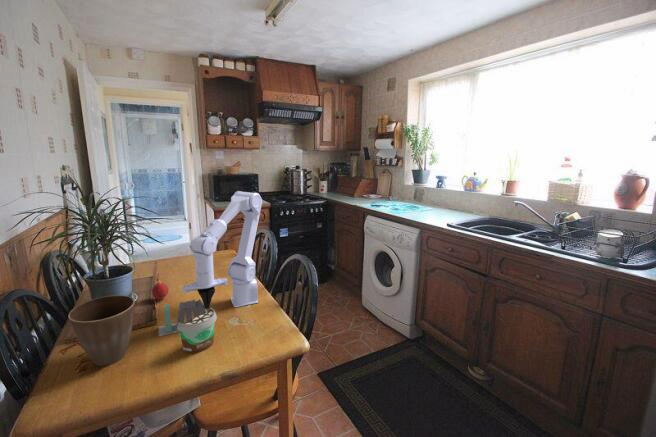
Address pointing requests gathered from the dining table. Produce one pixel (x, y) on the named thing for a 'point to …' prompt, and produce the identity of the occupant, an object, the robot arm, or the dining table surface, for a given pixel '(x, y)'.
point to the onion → (160, 291)
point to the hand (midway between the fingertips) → (206, 307)
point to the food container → (198, 332)
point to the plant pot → (104, 327)
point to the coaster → (163, 329)
